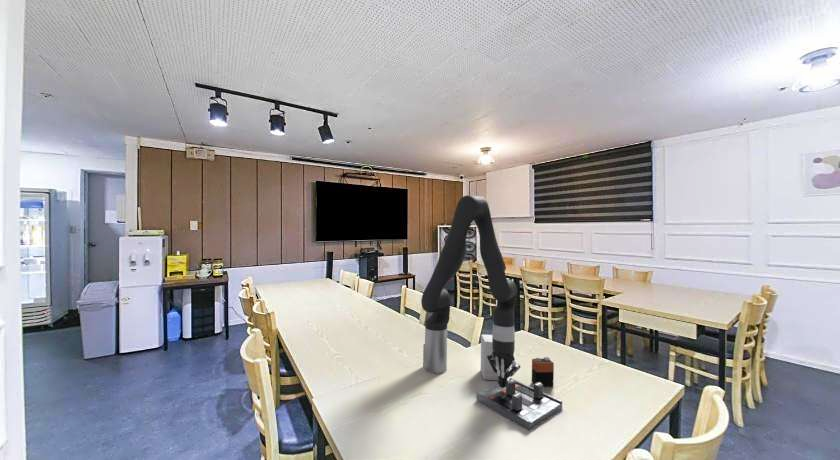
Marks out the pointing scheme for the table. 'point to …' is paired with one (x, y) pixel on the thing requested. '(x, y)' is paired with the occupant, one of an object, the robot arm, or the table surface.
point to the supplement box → (485, 351)
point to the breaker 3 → (538, 390)
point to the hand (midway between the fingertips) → (502, 386)
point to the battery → (543, 371)
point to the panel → (531, 409)
